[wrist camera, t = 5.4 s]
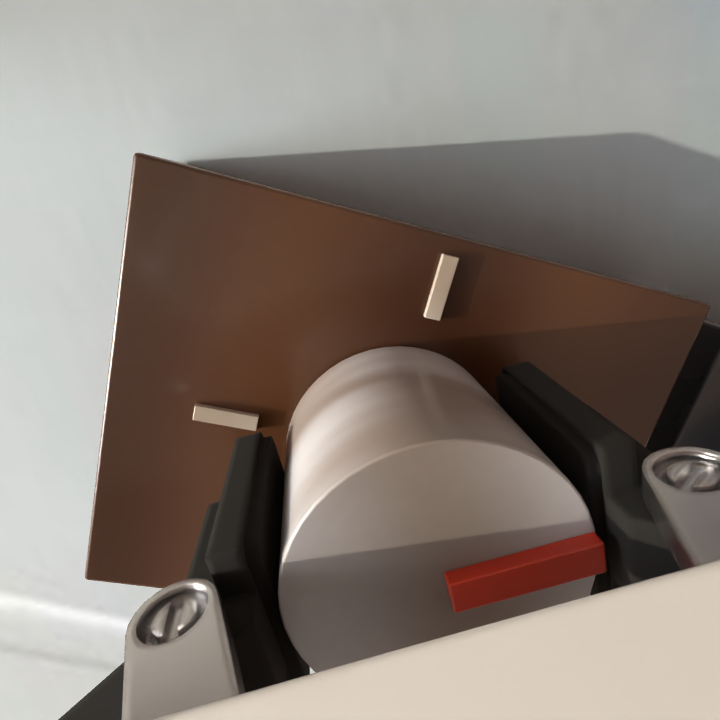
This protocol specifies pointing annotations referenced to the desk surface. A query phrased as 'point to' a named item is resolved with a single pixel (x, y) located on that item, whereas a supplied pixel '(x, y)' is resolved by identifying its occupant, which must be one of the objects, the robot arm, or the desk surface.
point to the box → (693, 398)
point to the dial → (418, 512)
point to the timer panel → (323, 339)
